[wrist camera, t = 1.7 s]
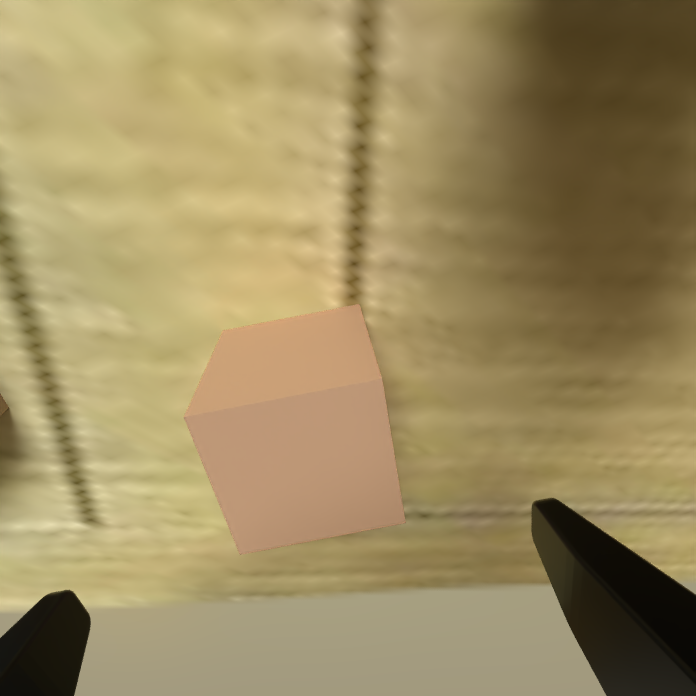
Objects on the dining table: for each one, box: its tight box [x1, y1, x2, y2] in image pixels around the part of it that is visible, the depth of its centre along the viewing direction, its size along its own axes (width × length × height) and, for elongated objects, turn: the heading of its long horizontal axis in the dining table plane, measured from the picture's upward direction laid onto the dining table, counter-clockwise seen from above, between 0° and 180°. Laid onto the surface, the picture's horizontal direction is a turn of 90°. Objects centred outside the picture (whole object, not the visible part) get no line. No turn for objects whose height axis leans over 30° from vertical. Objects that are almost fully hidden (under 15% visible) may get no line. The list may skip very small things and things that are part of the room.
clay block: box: [184, 304, 406, 555], centre depth 13 cm, size 4×4×5 cm
